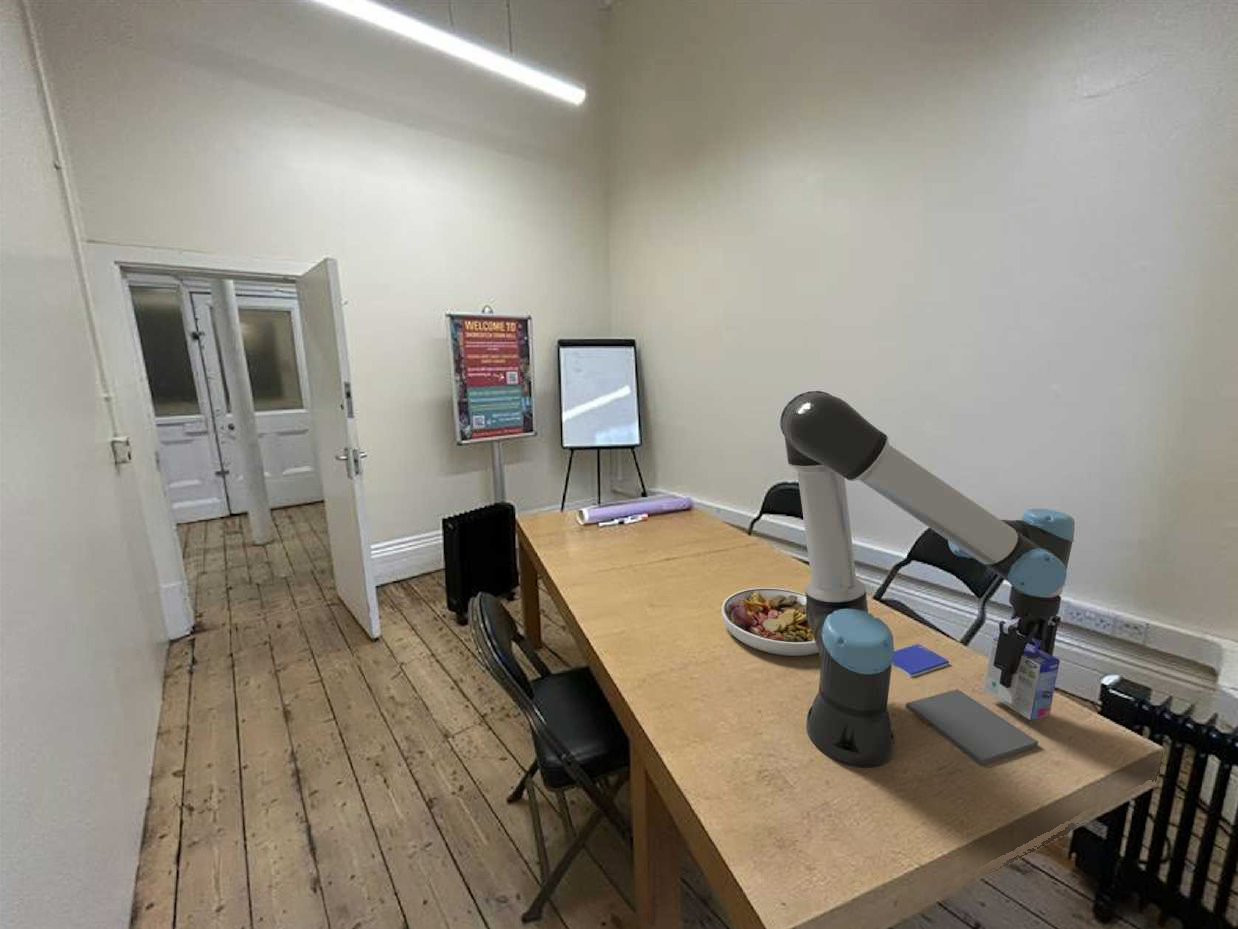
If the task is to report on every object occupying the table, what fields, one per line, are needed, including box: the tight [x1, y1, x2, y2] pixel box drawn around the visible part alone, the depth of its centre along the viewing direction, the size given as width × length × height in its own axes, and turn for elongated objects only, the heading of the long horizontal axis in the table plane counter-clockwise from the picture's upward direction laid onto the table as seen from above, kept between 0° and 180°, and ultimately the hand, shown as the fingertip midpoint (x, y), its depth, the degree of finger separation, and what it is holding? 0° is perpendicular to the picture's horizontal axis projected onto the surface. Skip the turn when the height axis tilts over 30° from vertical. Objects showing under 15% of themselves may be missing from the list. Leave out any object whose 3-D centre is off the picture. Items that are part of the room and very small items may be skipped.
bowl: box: [721, 587, 819, 657], centre depth 135 cm, size 30×30×8 cm
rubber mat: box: [905, 688, 1039, 766], centre depth 99 cm, size 14×16×1 cm
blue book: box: [892, 643, 950, 678], centre depth 121 cm, size 2×8×12 cm
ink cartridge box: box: [982, 635, 1061, 721], centre depth 102 cm, size 10×6×14 cm, turn 17°
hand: (1016, 696), depth 103 cm, fingers closed on ink cartridge box, 5 cm apart
